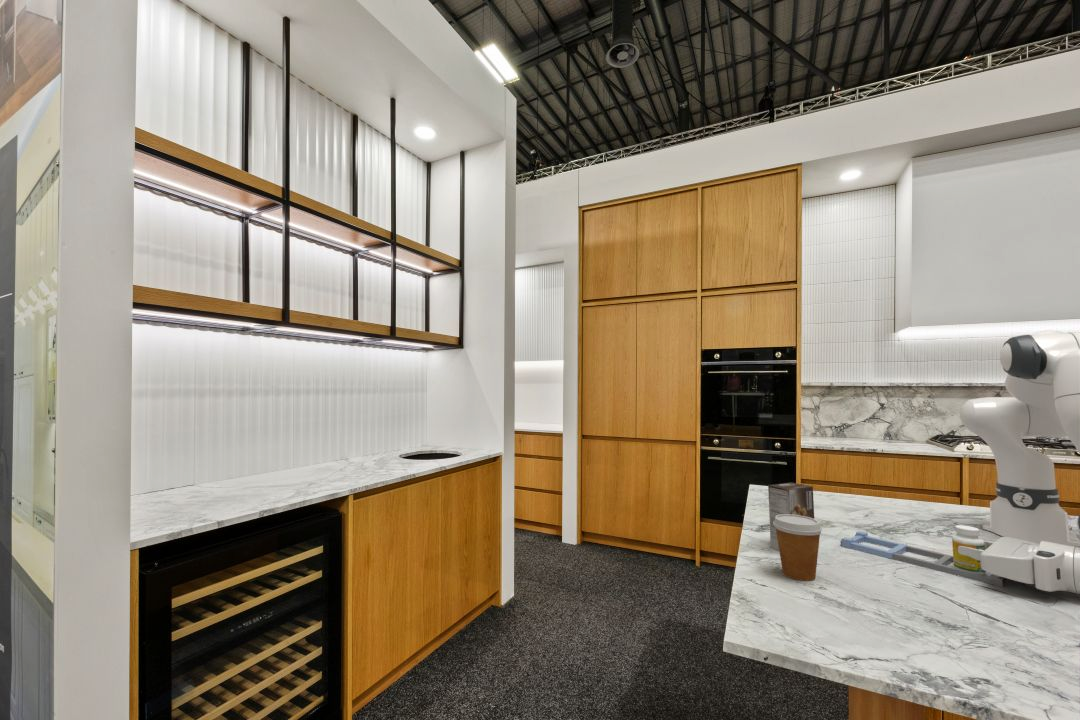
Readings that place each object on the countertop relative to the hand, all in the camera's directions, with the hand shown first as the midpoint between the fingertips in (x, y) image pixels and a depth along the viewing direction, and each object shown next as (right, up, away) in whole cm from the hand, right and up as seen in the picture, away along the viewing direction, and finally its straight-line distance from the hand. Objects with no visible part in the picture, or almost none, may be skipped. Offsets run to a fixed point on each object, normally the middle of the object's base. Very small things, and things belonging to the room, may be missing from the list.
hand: (963, 546), depth 103 cm
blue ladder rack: (-5, -6, +6) cm, 10 cm away
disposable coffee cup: (-39, -5, -3) cm, 40 cm away
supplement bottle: (+1, -5, -1) cm, 6 cm away
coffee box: (-31, -6, +13) cm, 35 cm away
